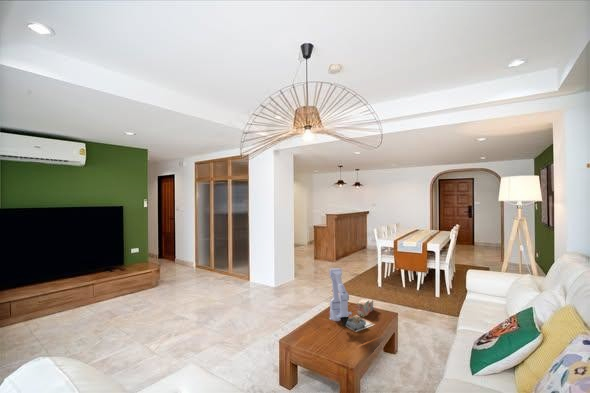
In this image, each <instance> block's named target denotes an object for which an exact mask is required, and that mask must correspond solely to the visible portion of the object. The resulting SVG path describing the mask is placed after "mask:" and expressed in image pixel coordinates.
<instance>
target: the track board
mask: <svg viewBox="0 0 590 393" xmlns="http://www.w3.org/2000/svg"><path fill="white" fill-rule="evenodd" d="M362 319H363V320H365V321H366V325H365V326H364V327H363V326H361V327H358V328H357V329H356V330H354V328H353V327H351V326H349V325H348V326H347V325H346V326H345V328H346V327H347V328H348V329H350V330H352V331H353V332H355V333H356V332H360V331H362V330H365V329H367V328H368V329H369V328H370V327H373V326H376V323H374V322H371V321H370V320H368V319H365V318H362Z"/></svg>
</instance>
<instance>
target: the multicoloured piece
mask: <svg viewBox="0 0 590 393" xmlns="http://www.w3.org/2000/svg"><path fill="white" fill-rule="evenodd" d="M373 310H374V300H373V299H370V298H362V299H360V300H359V301H358V302H356V315H358V316H360V317H362V318H364V317H367V316H368V315H369V314H370V313H372V312H373Z"/></svg>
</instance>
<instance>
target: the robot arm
mask: <svg viewBox="0 0 590 393" xmlns="http://www.w3.org/2000/svg"><path fill="white" fill-rule="evenodd" d="M342 270H343V269H342V268H341V267H338V268H336V267H335V268H329V270H328V274H329V275H328V276H329V278H330V280H331V287H332V298H331V299H330V300H329V301H330V302H329V309H330V310H329V318H328V320H331V321H334V322H340V321H341V323H342V327H346V323H347V320H348V319H349V318H350V317H349V316H351V315H352V316H353V314H352V311H349V307H348V306H349V302H348V301H349V299H350V296H349V293H348V291H347V290H346V287H345V285H344V284H343V281H342V276H343V271H342Z"/></svg>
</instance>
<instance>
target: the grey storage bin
mask: <svg viewBox="0 0 590 393" xmlns="http://www.w3.org/2000/svg"><path fill="white" fill-rule="evenodd" d="M363 319H364V318H361V317H360V323H358V324H355V323H354V322H353V316H352V317H349V318H348V320H347V323H346V325H347V326H348V325H349V326H351V327H353V328H354V330H356V329H357V328H358V327H361V326H363V327H364V326H365V325H366V321H365V320H363Z"/></svg>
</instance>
